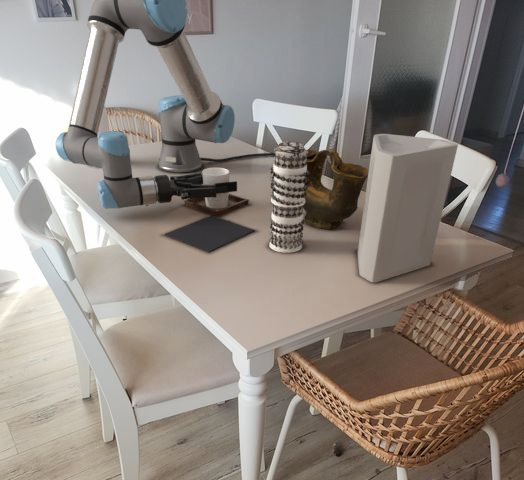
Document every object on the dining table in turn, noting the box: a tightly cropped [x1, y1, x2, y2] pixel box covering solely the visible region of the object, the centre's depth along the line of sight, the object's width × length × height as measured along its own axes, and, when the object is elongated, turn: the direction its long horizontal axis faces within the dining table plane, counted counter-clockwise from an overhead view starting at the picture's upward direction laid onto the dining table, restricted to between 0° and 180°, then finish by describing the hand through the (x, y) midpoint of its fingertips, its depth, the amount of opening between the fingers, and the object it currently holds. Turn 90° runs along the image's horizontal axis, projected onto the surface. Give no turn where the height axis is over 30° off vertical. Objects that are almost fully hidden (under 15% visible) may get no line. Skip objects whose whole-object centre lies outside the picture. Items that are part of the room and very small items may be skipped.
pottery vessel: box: [303, 148, 369, 230], centre depth 140 cm, size 25×11×20 cm, turn 40°
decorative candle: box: [268, 141, 309, 254], centre depth 125 cm, size 9×9×25 cm
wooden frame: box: [183, 193, 250, 218], centre depth 154 cm, size 14×14×2 cm
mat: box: [164, 214, 255, 253], centre depth 138 cm, size 18×16×1 cm
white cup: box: [201, 167, 230, 210], centre depth 152 cm, size 8×8×10 cm
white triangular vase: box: [356, 133, 459, 284], centre depth 118 cm, size 19×15×28 cm
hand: (231, 181), depth 153 cm, fingers closed on white cup, 8 cm apart
